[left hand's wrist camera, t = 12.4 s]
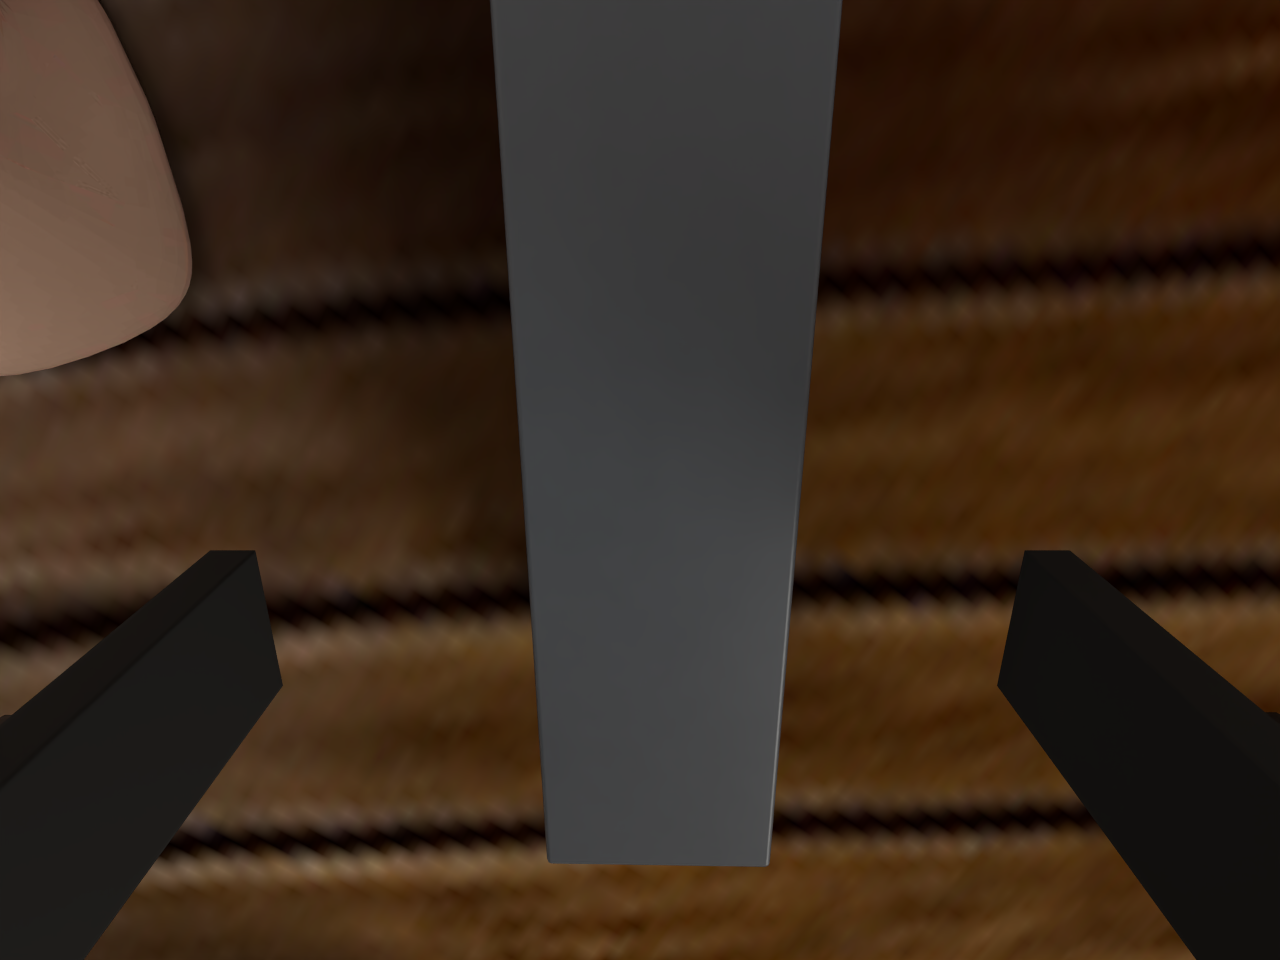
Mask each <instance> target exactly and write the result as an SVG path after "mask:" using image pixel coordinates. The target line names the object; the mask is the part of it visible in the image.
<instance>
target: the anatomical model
mask: <svg viewBox="0 0 1280 960" xmlns="http://www.w3.org/2000/svg"><path fill="white" fill-rule="evenodd" d="M191 275H192V254H191V243H190V238H189V234H188V229H187V225H186V220H185V216H184V211H183V207H182V203H181V200H180V197H179V194H178V190H177V187H176V184H175V181H174V178H173V175H172V172H171V168H170V165H169V162H168V159H167V156H166V153H165V150H164V147H163V143H162V140H161V137H160V134H159V131H158V128H157V125H156V121H155V119H154V116H153V114H152V111H151V108H150V106H149V103H148V101H147V98H146V96H145V94H144V92H143V89H142V87H141V85H140V83H139V81H138V79H137V77H136V74H135V72H134V70H133V68H132V66H131V64H130V62H129V60H128V57H127V55H126V53H125V51H124V49H123V47H122V45H121V42H120V40H119V38H118V36H117V34H116V32H115V30H114V28H113V25H112V23H111V21H110V19H109V18H108V16H107V14H106V13H105V11H104V9H103V8H102V6H101V5H100V3H99V1H98V0H0V376H7V375H19V374H24V373H29V372H34V371H39V370H44V369H49V368H53V367H56V366H60V365H63V364H66V363H69V362H72V361H76V360H79V359H82V358H85V357H89V356H91V355H94V354H96V353H99V352H101V351H104V350H106V349H109V348H111V347H114V346H116V345H119V344H122V343H124V342H126V341H128V340H130V339H132V338H134V337H136V336H138V335H139V334H141V333H143V332H145V331H147V330H149V329H151V328H152V327H154V326H155V325H157V324H158V323H160V322H161V321H162V320H164V319H165V318H167V317H168V316H169V315H170V314H171V313H172V312H173V311H174V310H175V309H176V308H177V307H178V306H179V304H180V303H181V301H182V300H183V298H184V296H185V295H186V293H187V290H188V287H189V285H190V280H191Z"/></svg>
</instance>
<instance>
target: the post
mask: <svg viewBox="0 0 1280 960" xmlns="http://www.w3.org/2000/svg"><path fill="white" fill-rule="evenodd" d="M490 8H491V23H492V38H493V53H494V68H495V83H496V98H497V113H498V128H499V143H500V158H501V173H502V188H503V203H504V218H505V233H506V248H507V263H508V278H509V293H510V308H511V323H512V338H513V353H514V368H515V383H516V398H517V413H518V428H519V443H520V458H521V473H522V488H523V503H524V518H525V533H526V548H527V563H528V579H529V594H530V609H531V624H532V639H533V654H534V669H535V684H536V699H537V714H538V729H539V744H540V759H541V774H542V789H543V804H544V819H545V834H546V849H547V859H548V862H549V863H563V864H628V865H693V866H758V867H765V866H768V865H769V862H770V851H771V839H772V828H773V816H774V804H775V792H776V780H777V768H778V757H779V745H780V733H781V721H782V709H783V697H784V686H785V674H786V662H787V650H788V638H789V626H790V615H791V603H792V591H793V579H794V567H795V555H796V544H797V532H798V520H799V508H800V496H801V484H802V473H803V461H804V449H805V437H806V425H807V413H808V402H809V390H810V378H811V366H812V354H813V342H814V331H815V319H816V307H817V295H818V283H819V271H820V260H821V248H822V236H823V224H824V212H825V200H826V189H827V177H828V165H829V153H830V141H831V129H832V118H833V106H834V94H835V82H836V70H837V58H838V47H839V35H840V23H841V11H842V0H490Z"/></svg>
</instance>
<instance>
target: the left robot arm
mask: <svg viewBox="0 0 1280 960" xmlns="http://www.w3.org/2000/svg"><path fill="white" fill-rule="evenodd" d="M282 686H283V684H282V679H281V674H280V669H279V665H278V660H277V655H276V650H275V645H274V640H273V635H272V630H271V625H270V621H269V616H268V611H267V606H266V601H265V596H264V591H263V586H262V581H261V576H260V572H259V567H258V562H257V557H256V552H255V551H209V552H208V553H207V554H205V555H204V556H203V557H202V558H201V559H199V560H198V561H197V562H196V563H195V564H193V565H192V566H191V567H190V568H189V569H187V570H186V571H185V572H184V573H183V574H181V575H180V576H179V577H178V578H177V579H175V580H174V581H173V582H172V583H171V584H169V585H168V586H167V587H166V588H164V589H163V590H162V591H161V592H160V593H158V594H157V595H156V596H155V597H154V598H152V599H151V600H150V601H149V602H148V603H146V604H145V605H144V606H143V607H142V608H140V609H139V610H138V611H137V612H136V613H134V614H133V615H132V616H131V617H130V618H128V619H127V620H126V621H125V622H123V623H122V624H121V625H120V626H119V627H117V628H116V629H115V630H114V631H113V632H111V633H110V634H109V635H108V636H107V637H105V638H104V639H103V640H102V641H101V642H99V643H98V644H97V645H96V646H95V647H93V648H92V649H91V650H90V651H89V652H87V653H86V654H85V655H84V656H83V657H81V658H80V659H79V660H78V661H76V662H75V663H74V664H73V665H72V666H70V667H69V668H68V669H67V670H66V671H64V672H63V673H62V674H61V675H60V676H58V677H57V678H56V679H55V680H54V681H52V682H51V683H50V684H49V685H48V686H46V687H45V688H44V689H43V690H42V691H40V692H39V693H38V694H37V695H36V696H34V697H33V698H32V699H31V700H29V701H28V702H27V703H26V704H25V705H23V706H22V707H21V708H20V709H19V710H17V711H16V712H15V713H14V714H13V715H4V716H2V717H0V960H84V959H85V957H86V956H87V954H88V953H89V952H90V950H91V949H92V948H93V946H94V945H95V943H96V942H97V941H98V939H99V938H100V937H101V935H102V934H103V932H104V931H105V930H106V928H107V927H108V926H109V924H110V923H111V921H112V920H113V919H114V917H115V916H116V915H117V913H118V912H119V910H120V909H121V908H122V906H123V905H124V904H125V902H126V901H127V899H128V898H129V897H130V895H131V894H132V892H133V891H134V890H135V888H136V887H137V886H138V884H139V883H140V881H141V880H142V879H143V877H144V876H145V875H146V873H147V872H148V870H149V869H150V868H151V866H152V865H153V864H154V862H155V861H156V859H157V858H158V857H159V855H160V854H161V853H162V851H163V850H164V848H165V847H166V846H167V844H168V843H169V842H170V840H171V839H172V837H173V836H174V835H175V833H176V832H177V831H178V829H179V828H180V826H181V825H182V824H183V822H184V821H185V820H186V818H187V817H188V815H189V814H190V813H191V811H192V810H193V809H194V807H195V806H196V804H197V803H198V802H199V800H200V799H201V798H202V796H203V795H204V793H205V792H206V791H207V789H208V788H209V787H210V785H211V784H212V782H213V781H214V780H215V778H216V777H217V776H218V774H219V773H220V771H221V770H222V769H223V767H224V766H225V764H226V763H227V762H228V760H229V759H230V758H231V756H232V755H233V753H234V752H235V751H236V749H237V748H238V747H239V745H240V744H241V742H242V741H243V740H244V738H245V737H246V736H247V734H248V733H249V731H250V730H251V729H252V727H253V726H254V725H255V723H256V722H257V720H258V719H259V718H260V716H261V715H262V714H263V712H264V711H265V709H266V708H267V707H268V705H269V704H270V703H271V701H272V700H273V698H274V697H275V696H276V694H277V693H278V692H279V690H280V689H281V687H282ZM997 686H998V687H999V689H1000V690H1001V692H1002V693H1003V694H1004V696H1005V697H1006V698H1007V700H1008V701H1009V703H1010V704H1011V705H1012V707H1013V708H1014V709H1015V711H1016V712H1017V714H1018V715H1019V716H1020V718H1021V719H1022V720H1023V722H1024V723H1025V725H1026V726H1027V727H1028V729H1029V730H1030V731H1031V733H1032V734H1033V736H1034V737H1035V738H1036V740H1037V741H1038V742H1039V744H1040V745H1041V747H1042V748H1043V749H1044V751H1045V752H1046V753H1047V755H1048V756H1049V758H1050V759H1051V760H1052V762H1053V763H1054V764H1055V766H1056V767H1057V769H1058V770H1059V771H1060V773H1061V774H1062V776H1063V777H1064V778H1065V780H1066V781H1067V782H1068V784H1069V785H1070V787H1071V788H1072V789H1073V791H1074V792H1075V793H1076V795H1077V796H1078V798H1079V799H1080V800H1081V802H1082V803H1083V804H1084V806H1085V807H1086V809H1087V810H1088V811H1089V813H1090V814H1091V815H1092V817H1093V818H1094V820H1095V821H1096V822H1097V824H1098V825H1099V826H1100V828H1101V829H1102V831H1103V832H1104V833H1105V835H1106V836H1107V837H1108V839H1109V840H1110V842H1111V843H1112V844H1113V846H1114V847H1115V848H1116V850H1117V851H1118V853H1119V854H1120V855H1121V857H1122V858H1123V859H1124V861H1125V862H1126V864H1127V865H1128V866H1129V868H1130V869H1131V870H1132V872H1133V873H1134V875H1135V876H1136V877H1137V879H1138V880H1139V881H1140V883H1141V884H1142V886H1143V887H1144V888H1145V890H1146V891H1147V892H1148V894H1149V895H1150V897H1151V898H1152V899H1153V901H1154V902H1155V904H1156V905H1157V906H1158V908H1159V909H1160V910H1161V912H1162V913H1163V915H1164V916H1165V917H1166V919H1167V920H1168V921H1169V923H1170V924H1171V926H1172V927H1173V928H1174V930H1175V931H1176V932H1177V934H1178V935H1179V937H1180V938H1181V939H1182V941H1183V942H1184V943H1185V945H1186V946H1187V948H1188V949H1189V950H1190V952H1191V953H1192V954H1193V956H1194V957H1195V959H1196V960H1280V714H1278V713H1276V712H1264V711H1263V710H1261V709H1260V708H1259V707H1258V706H1257V705H1255V704H1254V703H1253V702H1252V701H1251V700H1249V699H1248V698H1247V697H1246V696H1244V695H1243V694H1242V693H1241V692H1240V691H1238V690H1237V689H1236V688H1235V687H1234V686H1232V685H1231V684H1230V683H1229V682H1228V681H1226V680H1225V679H1224V678H1223V677H1222V676H1220V675H1219V674H1218V673H1217V672H1216V671H1214V670H1213V669H1212V668H1211V667H1210V666H1208V665H1207V664H1206V663H1205V662H1204V661H1202V660H1201V659H1200V658H1199V657H1197V656H1196V655H1195V654H1194V653H1193V652H1191V651H1190V650H1189V649H1188V648H1187V647H1185V646H1184V645H1183V644H1182V643H1181V642H1179V641H1178V640H1177V639H1176V638H1175V637H1173V636H1172V635H1171V634H1170V633H1169V632H1167V631H1166V630H1165V629H1164V628H1163V627H1161V626H1160V625H1159V624H1158V623H1157V622H1155V621H1154V620H1153V619H1152V618H1150V617H1149V616H1148V615H1147V614H1146V613H1144V612H1143V611H1142V610H1141V609H1140V608H1138V607H1137V606H1136V605H1135V604H1134V603H1132V602H1131V601H1130V600H1129V599H1128V598H1126V597H1125V596H1124V595H1123V594H1122V593H1120V592H1119V591H1118V590H1117V589H1116V588H1114V587H1113V586H1112V585H1111V584H1109V583H1108V582H1107V581H1106V580H1105V579H1103V578H1102V577H1101V576H1100V575H1099V574H1097V573H1096V572H1095V571H1094V570H1093V569H1091V568H1090V567H1089V566H1088V565H1087V564H1085V563H1084V562H1083V561H1082V560H1081V559H1079V558H1078V557H1077V556H1076V555H1075V554H1073V553H1072V552H1071V551H1025V552H1024V557H1023V562H1022V567H1021V572H1020V576H1019V581H1018V586H1017V591H1016V596H1015V601H1014V606H1013V611H1012V616H1011V621H1010V625H1009V630H1008V635H1007V640H1006V645H1005V650H1004V655H1003V660H1002V665H1001V669H1000V674H999V679H998V684H997Z"/></svg>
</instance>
